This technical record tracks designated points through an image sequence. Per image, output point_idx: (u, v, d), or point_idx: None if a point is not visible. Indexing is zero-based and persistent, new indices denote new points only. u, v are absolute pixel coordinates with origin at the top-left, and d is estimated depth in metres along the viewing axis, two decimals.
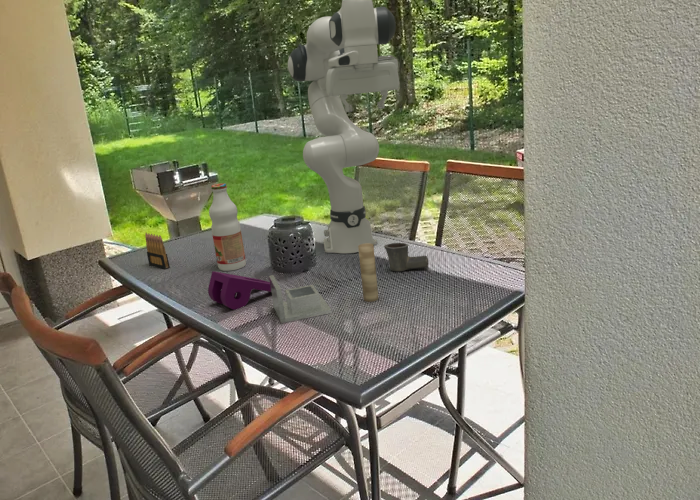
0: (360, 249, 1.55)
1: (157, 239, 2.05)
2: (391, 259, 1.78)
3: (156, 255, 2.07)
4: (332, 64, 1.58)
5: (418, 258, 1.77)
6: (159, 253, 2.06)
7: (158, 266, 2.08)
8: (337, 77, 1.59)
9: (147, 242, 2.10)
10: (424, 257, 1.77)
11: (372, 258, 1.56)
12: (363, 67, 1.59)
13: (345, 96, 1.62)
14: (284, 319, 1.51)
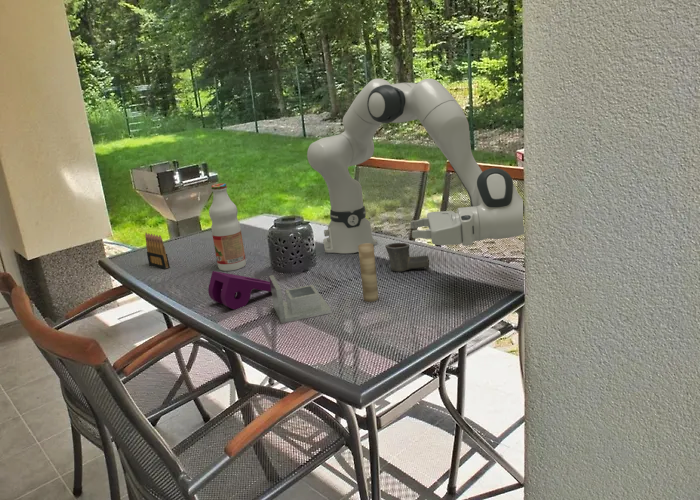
0: (360, 249, 1.55)
1: (157, 239, 2.05)
2: (392, 259, 1.78)
3: (156, 255, 2.07)
4: (465, 240, 1.45)
5: (419, 258, 1.77)
6: (159, 253, 2.06)
7: (158, 266, 2.08)
8: None
9: (147, 242, 2.10)
10: (425, 257, 1.77)
11: (372, 258, 1.56)
12: None
13: None
14: (284, 319, 1.51)
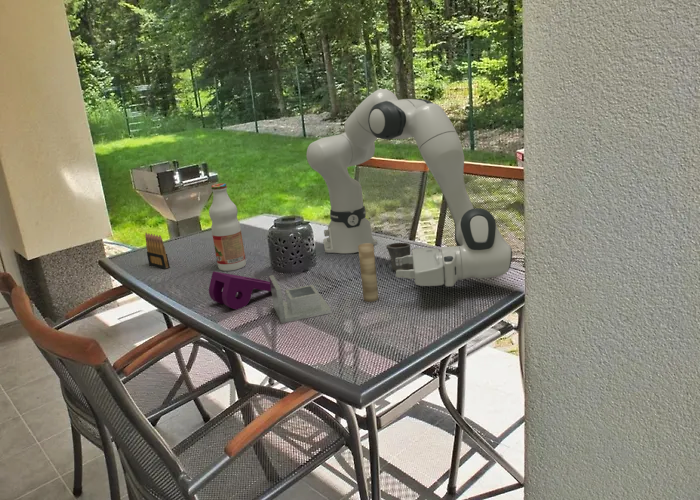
0: (360, 249, 1.55)
1: (157, 239, 2.05)
2: (393, 259, 1.78)
3: (156, 255, 2.07)
4: (447, 281, 1.49)
5: None
6: (159, 253, 2.06)
7: (158, 266, 2.08)
8: None
9: (147, 242, 2.10)
10: None
11: (372, 258, 1.56)
12: None
13: None
14: (284, 319, 1.51)
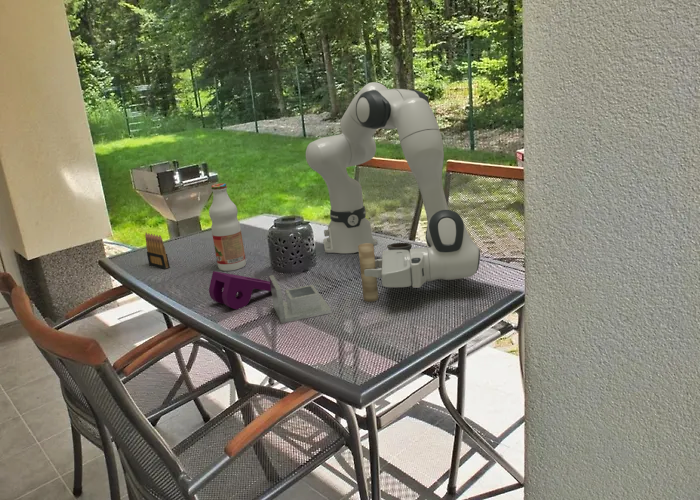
0: (360, 249, 1.55)
1: (157, 239, 2.05)
2: None
3: (156, 255, 2.07)
4: (414, 282, 1.49)
5: None
6: (159, 253, 2.06)
7: (158, 266, 2.08)
8: None
9: (147, 242, 2.10)
10: None
11: (372, 258, 1.56)
12: None
13: None
14: (284, 319, 1.51)
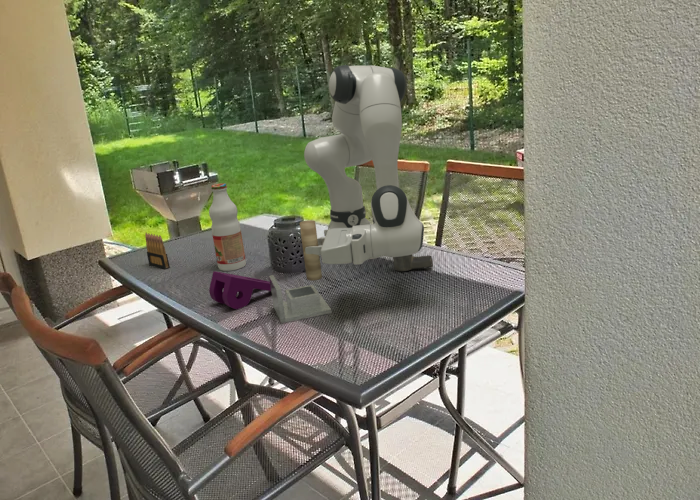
0: (301, 226, 1.51)
1: (157, 239, 2.05)
2: (395, 259, 1.78)
3: (156, 255, 2.07)
4: (355, 259, 1.45)
5: (422, 258, 1.77)
6: (159, 253, 2.06)
7: (158, 266, 2.08)
8: None
9: (147, 242, 2.10)
10: (428, 257, 1.77)
11: (314, 235, 1.51)
12: None
13: None
14: (284, 319, 1.51)
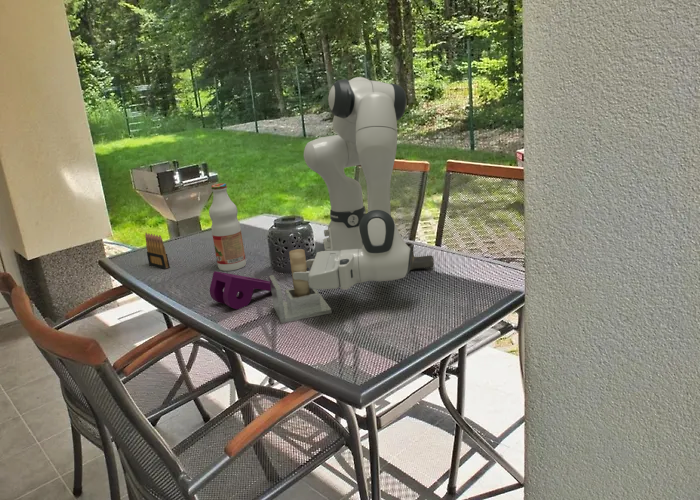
0: (290, 255, 1.53)
1: (157, 239, 2.05)
2: None
3: (156, 255, 2.07)
4: (342, 284, 1.46)
5: (424, 258, 1.77)
6: (159, 253, 2.06)
7: (158, 266, 2.08)
8: None
9: (147, 242, 2.10)
10: (430, 257, 1.76)
11: (303, 264, 1.53)
12: None
13: None
14: (284, 319, 1.51)
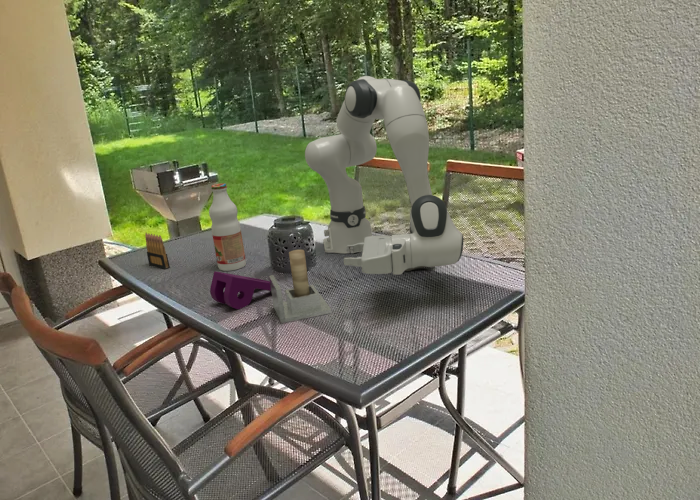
0: (290, 256, 1.52)
1: (157, 239, 2.05)
2: None
3: (156, 255, 2.07)
4: (395, 269, 1.45)
5: None
6: (159, 253, 2.06)
7: (158, 266, 2.08)
8: None
9: (147, 242, 2.10)
10: None
11: (303, 265, 1.53)
12: None
13: None
14: (284, 319, 1.51)
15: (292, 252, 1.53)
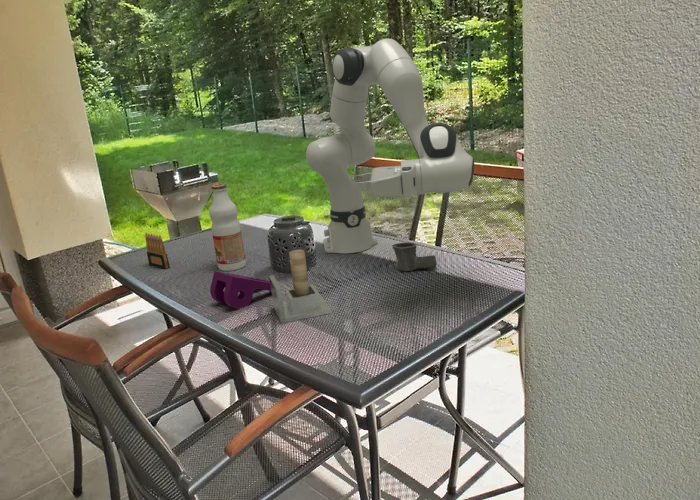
0: (290, 256, 1.52)
1: (157, 239, 2.05)
2: (399, 259, 1.78)
3: (156, 255, 2.07)
4: (405, 191, 1.41)
5: (426, 258, 1.77)
6: (159, 253, 2.06)
7: (158, 266, 2.08)
8: None
9: (147, 242, 2.10)
10: (432, 257, 1.76)
11: (303, 265, 1.53)
12: None
13: None
14: (284, 319, 1.51)
15: (292, 252, 1.53)
